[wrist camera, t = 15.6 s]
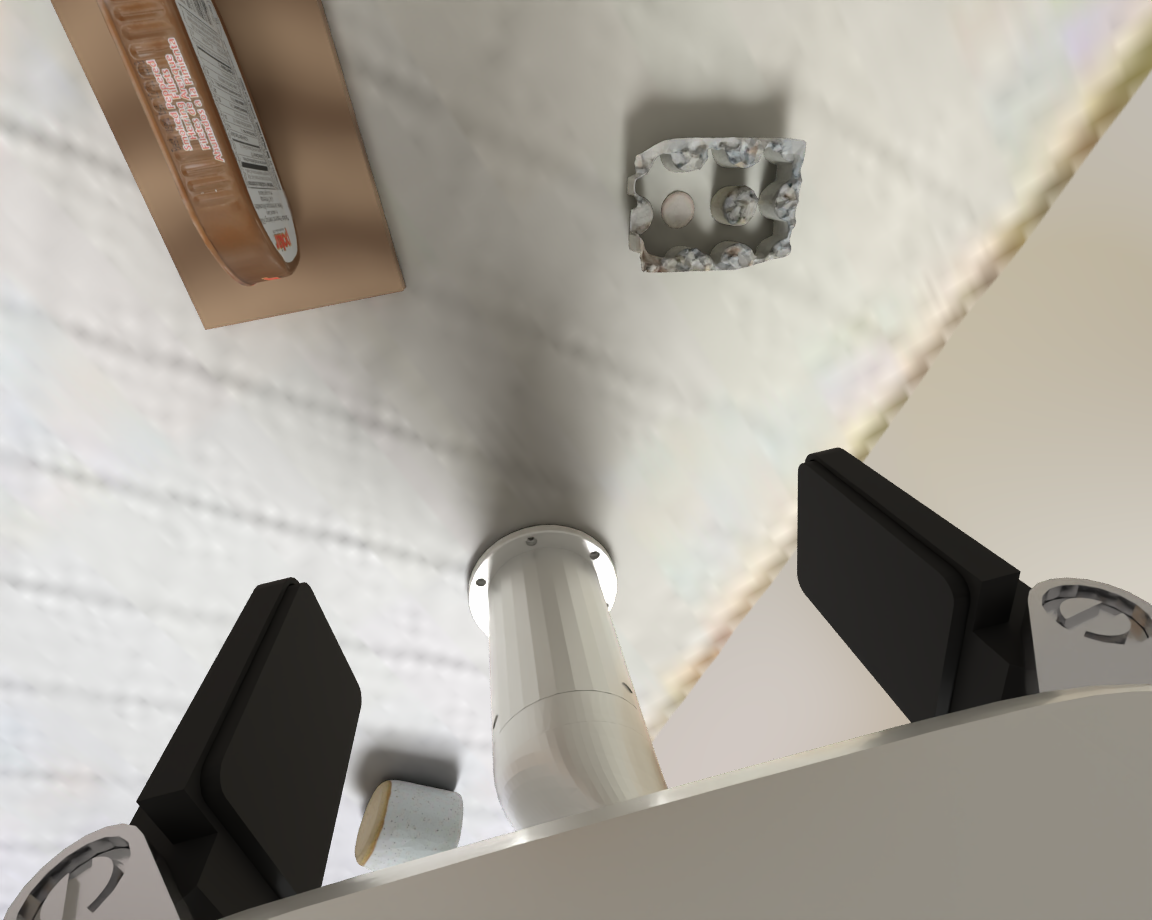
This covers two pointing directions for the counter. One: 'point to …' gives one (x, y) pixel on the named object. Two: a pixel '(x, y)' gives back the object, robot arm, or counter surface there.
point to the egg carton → (721, 200)
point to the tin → (208, 132)
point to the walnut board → (298, 144)
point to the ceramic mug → (407, 824)
